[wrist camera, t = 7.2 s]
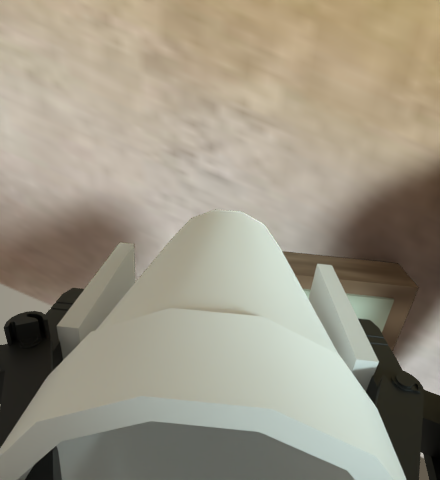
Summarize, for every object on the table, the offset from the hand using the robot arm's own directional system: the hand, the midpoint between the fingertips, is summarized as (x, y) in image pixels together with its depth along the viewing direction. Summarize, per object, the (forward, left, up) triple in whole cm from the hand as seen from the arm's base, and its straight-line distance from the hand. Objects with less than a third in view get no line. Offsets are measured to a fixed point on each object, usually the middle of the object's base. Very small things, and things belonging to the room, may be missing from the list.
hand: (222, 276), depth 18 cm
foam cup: (0, 0, -2) cm, 2 cm away
